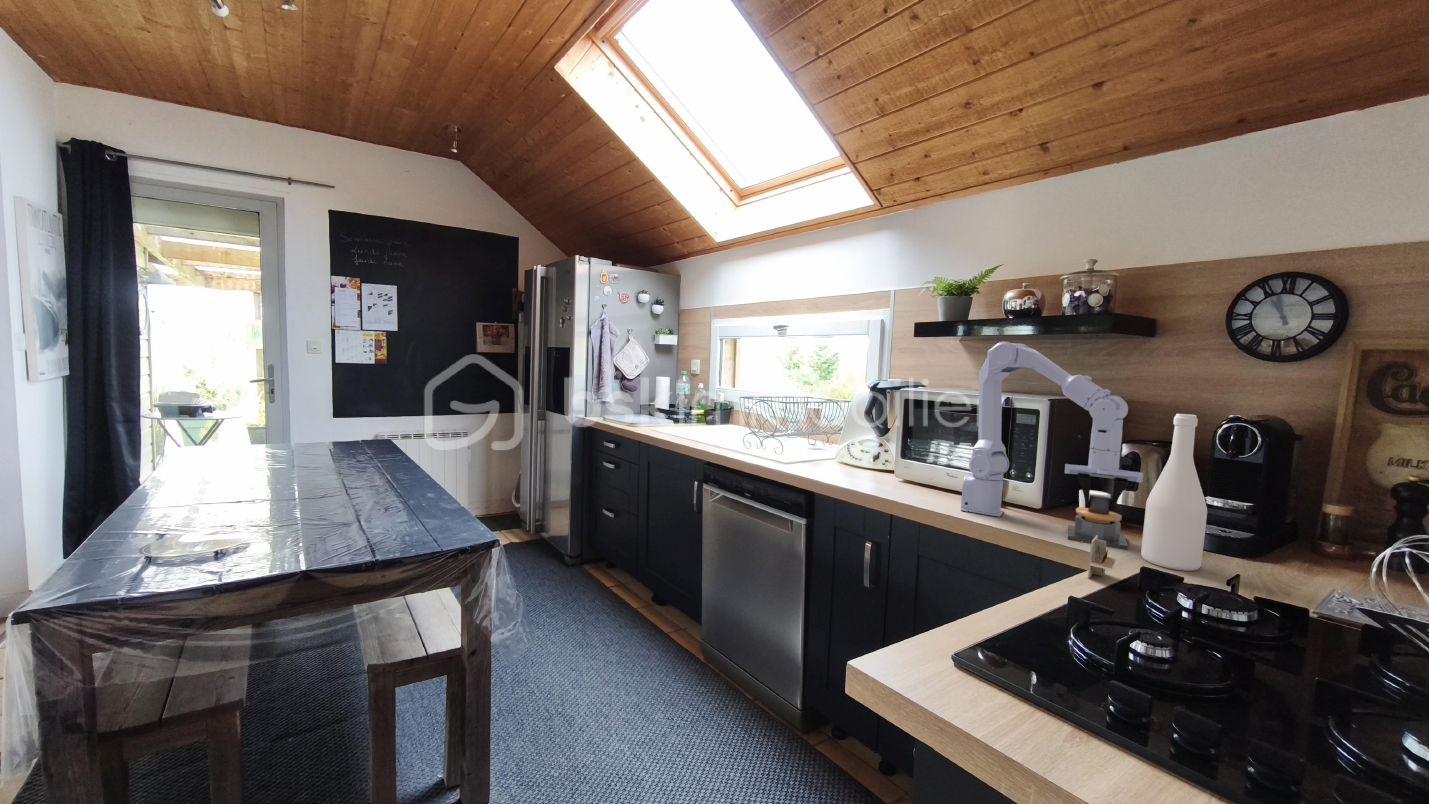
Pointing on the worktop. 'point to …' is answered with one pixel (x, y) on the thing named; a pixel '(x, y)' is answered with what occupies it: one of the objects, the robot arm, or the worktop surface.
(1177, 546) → the wine bottle
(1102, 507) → the cap
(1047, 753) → the worktop surface
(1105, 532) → the grey bowl on base
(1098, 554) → the architectural model
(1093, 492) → the shot glass
